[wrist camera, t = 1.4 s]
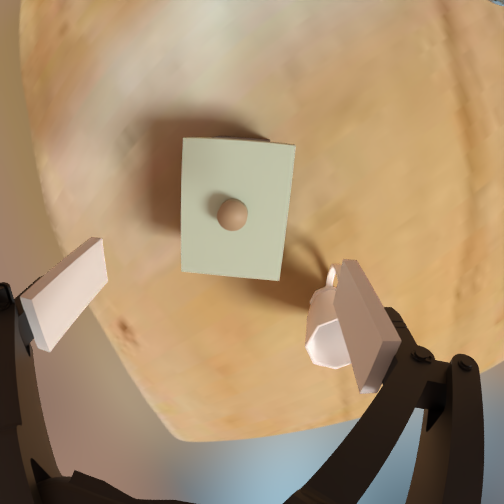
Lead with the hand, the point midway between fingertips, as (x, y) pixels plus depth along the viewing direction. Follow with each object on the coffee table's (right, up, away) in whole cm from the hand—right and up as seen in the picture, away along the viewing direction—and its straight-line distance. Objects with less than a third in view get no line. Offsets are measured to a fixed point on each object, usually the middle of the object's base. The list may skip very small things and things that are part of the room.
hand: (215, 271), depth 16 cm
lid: (0, +5, +11) cm, 12 cm away
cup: (+11, -3, +19) cm, 22 cm away
